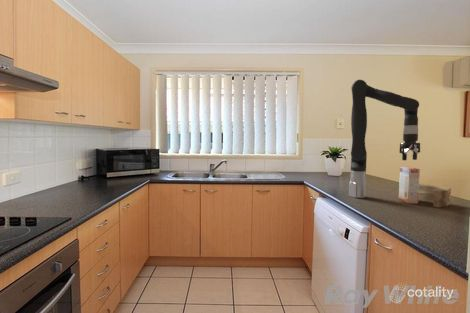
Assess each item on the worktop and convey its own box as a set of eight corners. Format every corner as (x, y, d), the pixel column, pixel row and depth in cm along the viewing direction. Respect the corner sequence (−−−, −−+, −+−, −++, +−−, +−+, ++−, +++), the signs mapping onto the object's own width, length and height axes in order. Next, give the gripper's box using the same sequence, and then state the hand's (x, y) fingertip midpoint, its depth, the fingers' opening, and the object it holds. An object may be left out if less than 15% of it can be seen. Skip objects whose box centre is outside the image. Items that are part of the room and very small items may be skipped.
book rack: (437, 207, 153) (438, 189, 153) (403, 199, 173) (404, 183, 172) (449, 205, 157) (450, 188, 156) (414, 197, 176) (415, 182, 176)
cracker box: (418, 204, 160) (420, 168, 158) (407, 203, 161) (408, 168, 160) (408, 198, 174) (410, 166, 172) (398, 198, 175) (399, 166, 173)
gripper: (413, 133, 170) (412, 159, 172) (396, 133, 166) (395, 160, 167) (425, 133, 163) (424, 160, 165) (407, 133, 159) (406, 161, 160)
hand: (409, 160), depth 166 cm, fingers open, 8 cm apart
